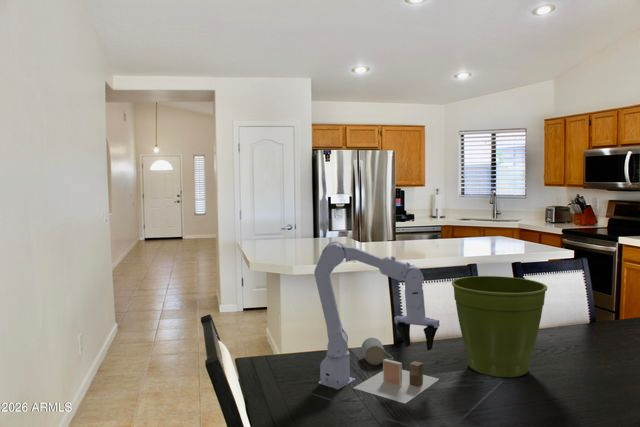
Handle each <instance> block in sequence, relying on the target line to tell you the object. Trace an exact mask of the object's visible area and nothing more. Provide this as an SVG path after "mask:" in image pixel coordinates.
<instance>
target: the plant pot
mask: <svg viewBox="0 0 640 427" xmlns="http://www.w3.org/2000/svg"><path fill="white" fill-rule="evenodd" d="M451 285H452V287H453V297H454V301H455V306H456V312H457V318H458V319H457V320H458V323H459V328H460V332H461V338H462V340H463V344H464V349H465V352H466V355H467V365H468V367H469V368H470V369H471V370H473V371H475V372H477V373H479V374H483V375H486V376H489V377H496V378H517V377H521V376H524V375H525V374H527V373H528V372H529V370H530V360H531V358H532V354H533V352H534V348H535V344H536V341H537V337H538V333H539V330H540V329H539V328H540V325H541V324H540V323H541V321H542V313H543V309H544V308H543V307H544V306H545V297H546V292H547V291H548V286H547V285H546V284H545V283H543V282H539V281H536V280H533V279H528V278H521V277H513V276H501V275H500V276H499V275H477V276H475V275H474V276H465V277H459V278H456V279H454V280H452V281H451Z"/></svg>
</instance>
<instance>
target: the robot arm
mask: <svg viewBox="0 0 640 427" xmlns="http://www.w3.org/2000/svg"><path fill="white" fill-rule="evenodd" d="M344 260H345V262H346V263H348V262H353V261H357V262H360V263H362V264H365V265H368V266H371V267H374V268H378V270H379V272H380V274H382V275H384V276H387V277H389V278H391V279H394V280H397V281H399V282H401V281H403V282H404V299H405V301H404V302H405V311H406V315H396V316H395V317H394V318H393V319H394V324H397V325H396V326H395V327H396V330H397V331H398V332H399V335H400V336H401V339H402V341H403V343H404V347H405V348H408V347H410V346H411V336H410V335H411V325H413V326H414V325H415V326H421V327H423V326H424V327H425V328H423V332H424V335H425V340H426V350H427V351H431V350H432V349H433V345H434V339H435V336H436V333H437V331H438V329H439V327H440V326H441V325H440V320H439V319H434V318H430V317H427V316H426V308H425V295H424V289H423V286H424V285H423V283H424V280H425V277H424V275H423V273H422V271H421V270H420V268H419V267H418V266H415V265H414V264H411V262H403V261H400V260H398V259H397V258H396V257H395V256H394V255H392V256H386V257H383V258H381V257H379V256H376V255H374V254H372V253H370V252H368V251H365V250H363V249H361V248H358V247H356V246H352V245H349V244H347V243H341V242H340V241H331V242H329V243H328V244H326V246H325V247H324V248H323V250H322V251H321V254H320V256H319V257H318V261H317V263H316V266H315V268H314V272H313V273H314V277H315V282H316V287H317V290H318V295H319V299H320V304H321V309H322V313H323V318H324V321H325V325H326V332H327V338H328V343H327V348H326V349H327V351H326V356H325V358H324V359H323V360H321V362H320V366H319V369H320V370H319V372H320V376H319V377H320V378H319V379H320V380H319V381H318V384H320V385H323V386H326V387H328V388H332V389H336V390H340V389H341V388H343V387H345V386H347V385H349V384H351V383H353V382H354V381H356V378H355V377H351V367H350V365H351V364H350V362H351V361H350V360H351V359H350V358H351V357H350V355H351V353H350V351H349V345H348V343H349V336H348V334H347V332H346V331H345V330H344V328H343V324H342V321H341V317H340V312H339V309H338V303H337V300H336V296H335V290H334V288H333V284H332V282H333V281H332V279H331V274H332V272H333V271H334V269H335V268H336V267H337V266H339V265H340V264H342V263H343V262H344Z"/></svg>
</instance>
